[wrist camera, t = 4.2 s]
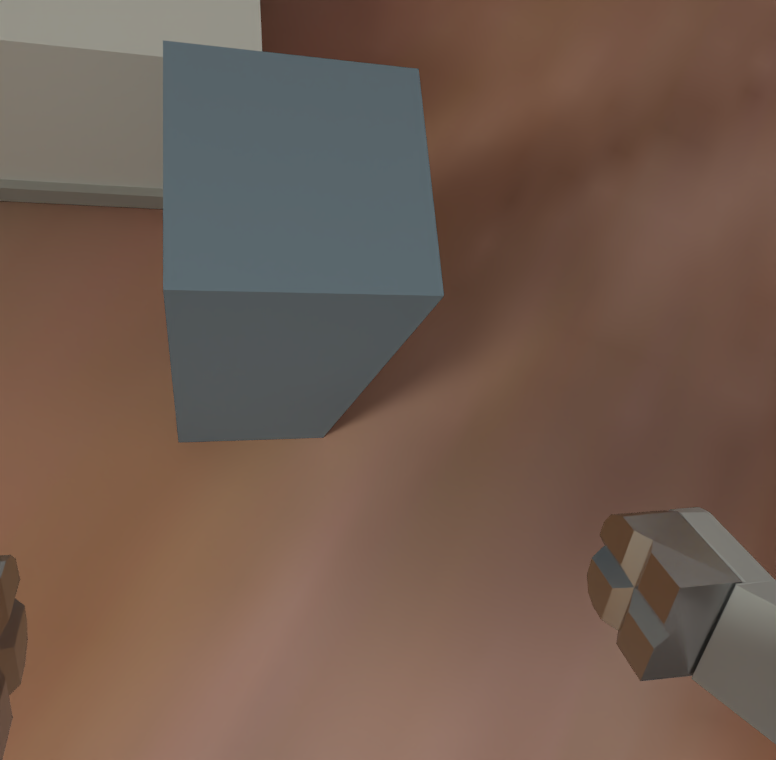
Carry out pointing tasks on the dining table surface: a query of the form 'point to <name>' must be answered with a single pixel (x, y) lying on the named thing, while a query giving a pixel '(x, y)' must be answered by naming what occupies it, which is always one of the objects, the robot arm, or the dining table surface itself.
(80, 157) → the riser
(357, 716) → the dining table surface
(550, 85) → the dining table surface
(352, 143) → the grey tall block
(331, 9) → the dining table surface
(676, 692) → the dining table surface
